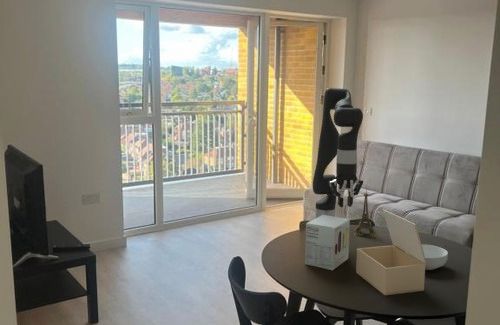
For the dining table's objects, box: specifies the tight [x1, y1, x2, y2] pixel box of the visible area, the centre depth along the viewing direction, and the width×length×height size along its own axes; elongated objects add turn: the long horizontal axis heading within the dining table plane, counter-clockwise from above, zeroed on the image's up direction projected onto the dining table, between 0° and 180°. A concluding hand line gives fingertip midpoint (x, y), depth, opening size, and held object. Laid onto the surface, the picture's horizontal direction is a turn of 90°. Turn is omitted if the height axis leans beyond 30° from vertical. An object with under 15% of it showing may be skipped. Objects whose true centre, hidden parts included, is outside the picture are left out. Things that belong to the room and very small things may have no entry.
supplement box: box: [304, 215, 351, 271], centre depth 203 cm, size 17×13×18 cm
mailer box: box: [355, 245, 426, 296], centre depth 183 cm, size 16×22×10 cm
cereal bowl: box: [405, 243, 449, 271], centre depth 198 cm, size 17×17×7 cm
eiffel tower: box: [353, 185, 376, 238], centre depth 242 cm, size 11×11×25 cm
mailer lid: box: [382, 208, 427, 264], centre depth 182 cm, size 16×22×1 cm
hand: (345, 206), depth 181 cm, fingers open, 3 cm apart
